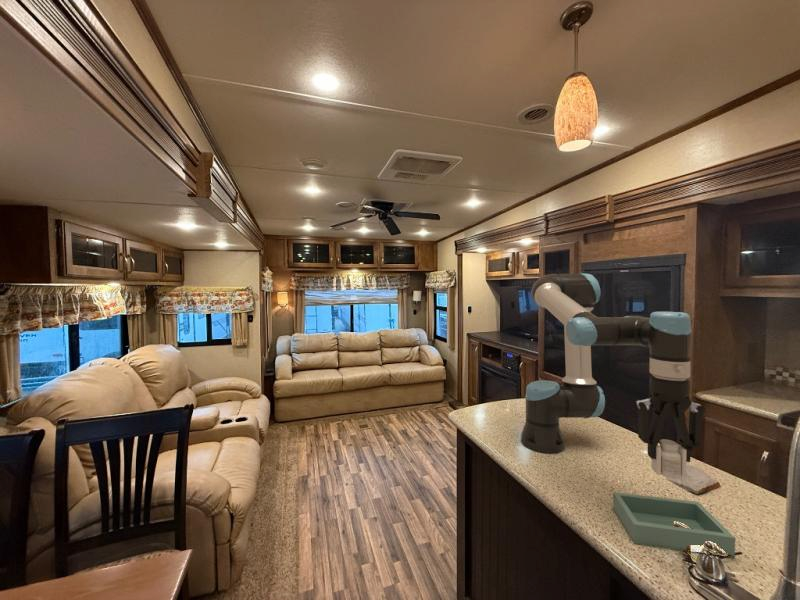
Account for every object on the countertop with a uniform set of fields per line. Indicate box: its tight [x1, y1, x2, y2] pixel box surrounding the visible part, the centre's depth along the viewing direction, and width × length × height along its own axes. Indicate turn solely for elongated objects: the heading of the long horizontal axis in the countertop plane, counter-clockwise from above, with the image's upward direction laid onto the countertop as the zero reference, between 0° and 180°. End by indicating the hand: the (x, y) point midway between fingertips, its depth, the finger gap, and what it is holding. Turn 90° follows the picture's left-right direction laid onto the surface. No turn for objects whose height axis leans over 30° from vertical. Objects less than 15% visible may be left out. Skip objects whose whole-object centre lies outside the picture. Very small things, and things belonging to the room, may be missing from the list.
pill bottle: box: [659, 438, 681, 479], centre depth 78 cm, size 4×4×8 cm
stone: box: [665, 464, 721, 495], centre depth 98 cm, size 10×12×4 cm
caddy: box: [612, 491, 736, 559], centre depth 79 cm, size 12×19×5 cm, turn 76°
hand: (668, 472), depth 78 cm, fingers closed on pill bottle, 4 cm apart
